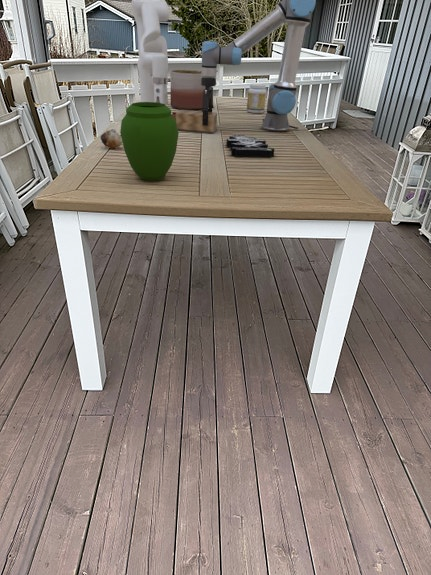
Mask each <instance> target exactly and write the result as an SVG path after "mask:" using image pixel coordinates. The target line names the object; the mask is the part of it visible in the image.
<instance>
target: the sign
mask: <svg viewBox="0 0 431 575" xmlns="http://www.w3.org/2000/svg"><path fill="white" fill-rule="evenodd" d="M225 144H226V148H229V151H230V155H231V156H233V157H235V158H272V157H274V156H275V148H274V147H269V144H268V143H267V140H265V139H262V138H260V139H258V138H256V137H250V136H245V134H238V135H237V134H234V135H229V137H228V138H226V143H225Z"/></svg>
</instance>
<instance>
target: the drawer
mask: <svg viewBox="0 0 431 575" xmlns="http://www.w3.org/2000/svg"><path fill="white" fill-rule="evenodd" d="M177 112H178V111H171V115H172V116H173V118H174V119H175V120H176V113H177Z"/></svg>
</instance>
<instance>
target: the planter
mask: <svg viewBox="0 0 431 575" xmlns="http://www.w3.org/2000/svg"><path fill="white" fill-rule="evenodd" d="M201 78H202V76H201V70H196V69H195V70H194V69H171V70H170V106H171V107H172V108H174V109H177V110H191V111H201V110H202V104H203V90H205V86H202V85H201Z"/></svg>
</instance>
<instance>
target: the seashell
mask: <svg viewBox="0 0 431 575" xmlns="http://www.w3.org/2000/svg"><path fill="white" fill-rule="evenodd" d="M100 140H101V143H102V144H103V145H104V146H105V147H107V148H110V149H116V148H119V147H120V146H122V145H123V142H122V138H121V134H119V133H118V132H117V131H116V129H114V128H112V129H109V130H106V131H104V132H103V133H102V134H101V135H100Z"/></svg>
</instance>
